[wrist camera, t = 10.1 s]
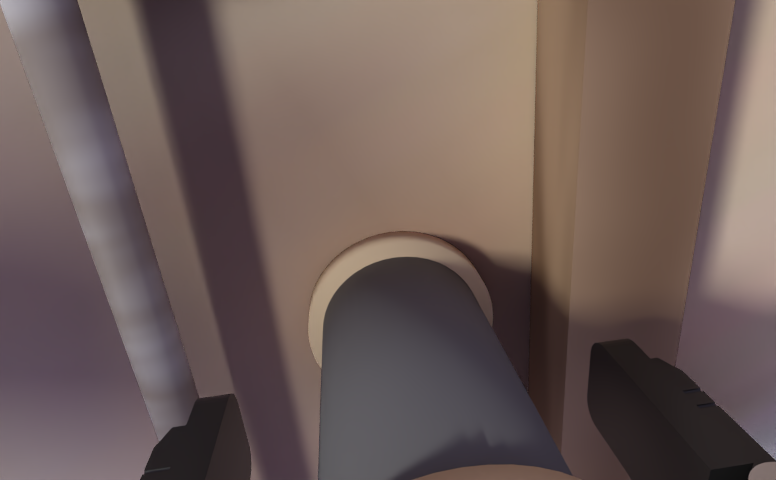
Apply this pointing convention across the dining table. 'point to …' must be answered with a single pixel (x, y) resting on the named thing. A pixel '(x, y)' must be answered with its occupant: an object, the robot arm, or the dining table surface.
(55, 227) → the dining table surface
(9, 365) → the dining table surface
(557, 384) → the framed panel with rod
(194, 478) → the robot arm
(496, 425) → the spool
